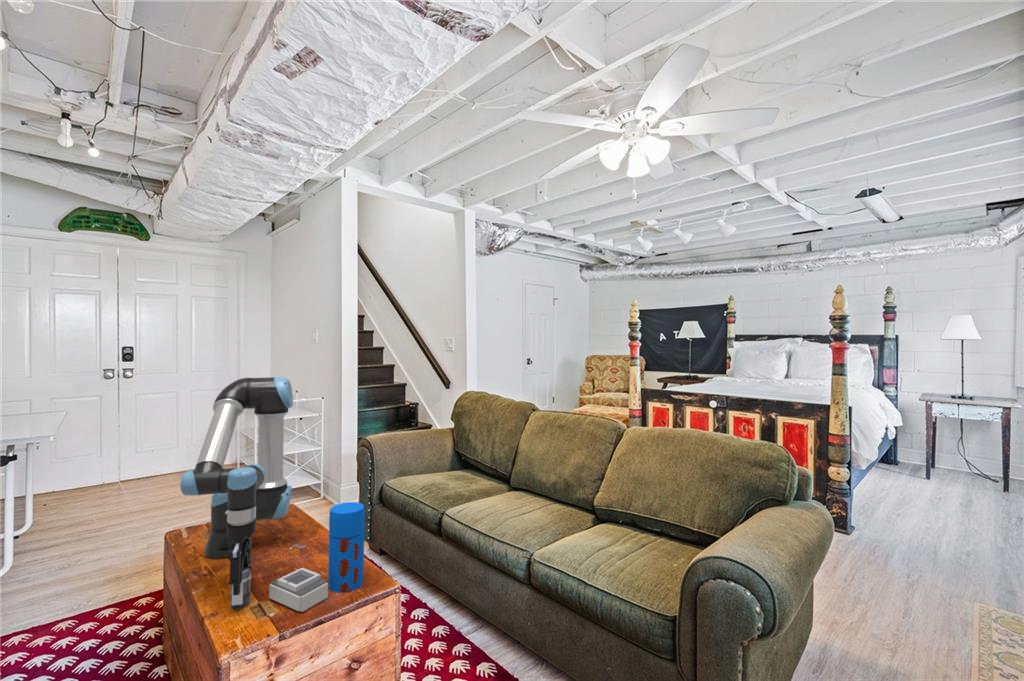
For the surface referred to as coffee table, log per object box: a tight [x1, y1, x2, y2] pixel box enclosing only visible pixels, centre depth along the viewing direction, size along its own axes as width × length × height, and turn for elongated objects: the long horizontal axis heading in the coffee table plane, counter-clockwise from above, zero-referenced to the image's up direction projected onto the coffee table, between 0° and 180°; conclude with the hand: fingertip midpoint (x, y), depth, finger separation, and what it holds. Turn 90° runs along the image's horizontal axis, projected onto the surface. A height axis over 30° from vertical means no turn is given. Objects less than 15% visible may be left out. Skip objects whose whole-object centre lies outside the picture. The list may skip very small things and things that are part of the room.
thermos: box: [327, 501, 366, 594], centre depth 151 cm, size 11×11×25 cm
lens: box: [229, 567, 252, 611], centre depth 138 cm, size 6×6×10 cm
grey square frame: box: [268, 567, 329, 613], centre depth 142 cm, size 15×10×7 cm, turn 61°
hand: (240, 598), depth 138 cm, fingers closed on lens, 6 cm apart
